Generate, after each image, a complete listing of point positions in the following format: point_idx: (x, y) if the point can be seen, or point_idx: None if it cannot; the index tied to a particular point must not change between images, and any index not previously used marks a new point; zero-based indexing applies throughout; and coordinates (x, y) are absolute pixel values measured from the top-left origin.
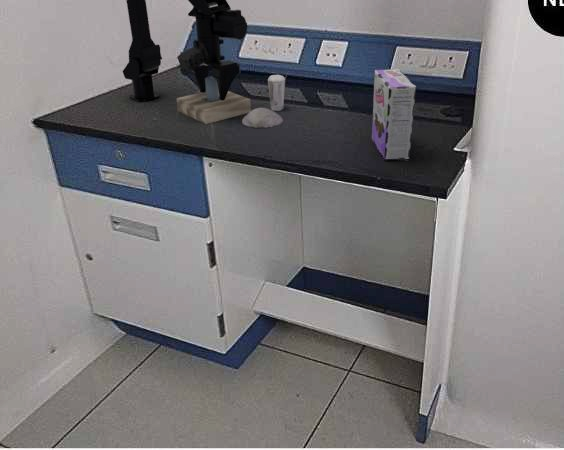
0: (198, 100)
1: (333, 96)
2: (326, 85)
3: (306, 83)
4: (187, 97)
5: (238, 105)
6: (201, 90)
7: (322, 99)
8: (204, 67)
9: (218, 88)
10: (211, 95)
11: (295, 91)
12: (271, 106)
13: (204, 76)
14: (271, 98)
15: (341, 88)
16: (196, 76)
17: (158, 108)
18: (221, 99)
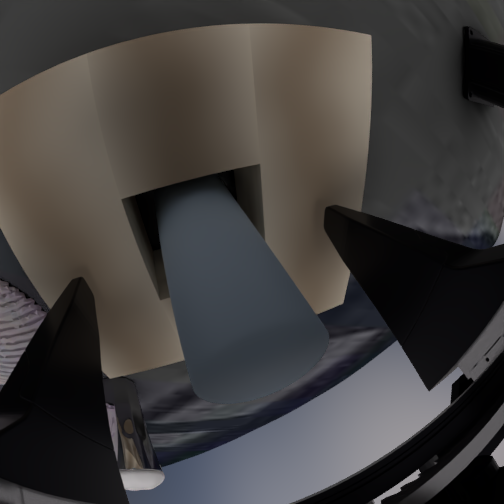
0: (229, 128)
1: (170, 442)
2: (239, 434)
3: (273, 417)
4: (345, 96)
5: None
6: (336, 210)
7: (159, 435)
8: (440, 356)
9: (46, 346)
10: (170, 243)
11: (241, 411)
12: (111, 387)
13: (397, 302)
14: (111, 413)
15: (208, 445)
16: (434, 250)
17: (397, 10)
18: (70, 284)
